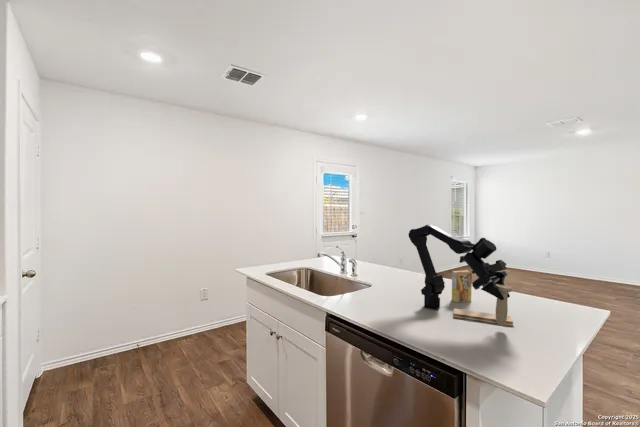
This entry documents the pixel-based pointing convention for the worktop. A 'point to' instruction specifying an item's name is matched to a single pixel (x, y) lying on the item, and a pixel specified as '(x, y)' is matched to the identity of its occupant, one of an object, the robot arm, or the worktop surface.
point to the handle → (502, 304)
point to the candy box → (461, 286)
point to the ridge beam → (479, 317)
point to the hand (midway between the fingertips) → (506, 298)
